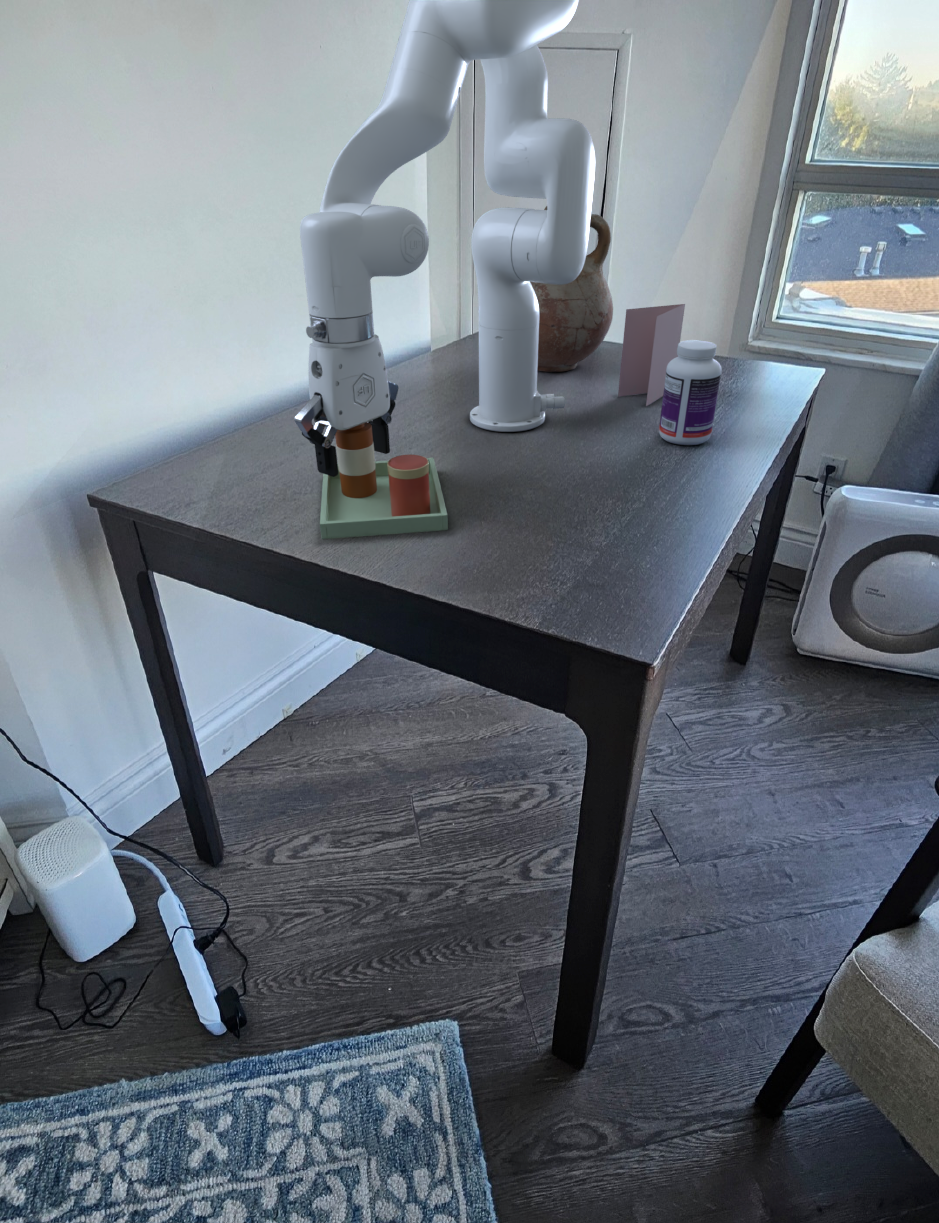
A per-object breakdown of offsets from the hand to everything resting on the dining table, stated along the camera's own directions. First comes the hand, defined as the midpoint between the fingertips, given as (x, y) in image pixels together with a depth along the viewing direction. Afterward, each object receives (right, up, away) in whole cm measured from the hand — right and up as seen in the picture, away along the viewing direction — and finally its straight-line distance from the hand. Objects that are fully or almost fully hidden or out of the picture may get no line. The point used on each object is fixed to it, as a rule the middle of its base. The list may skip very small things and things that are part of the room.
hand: (355, 462), depth 100 cm
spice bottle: (0, -3, +3) cm, 4 cm away
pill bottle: (+49, +7, +19) cm, 53 cm away
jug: (+32, +30, +53) cm, 69 cm away
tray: (+4, -6, 0) cm, 7 cm away
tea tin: (+8, -7, -3) cm, 11 cm away
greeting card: (+48, +19, +36) cm, 63 cm away
